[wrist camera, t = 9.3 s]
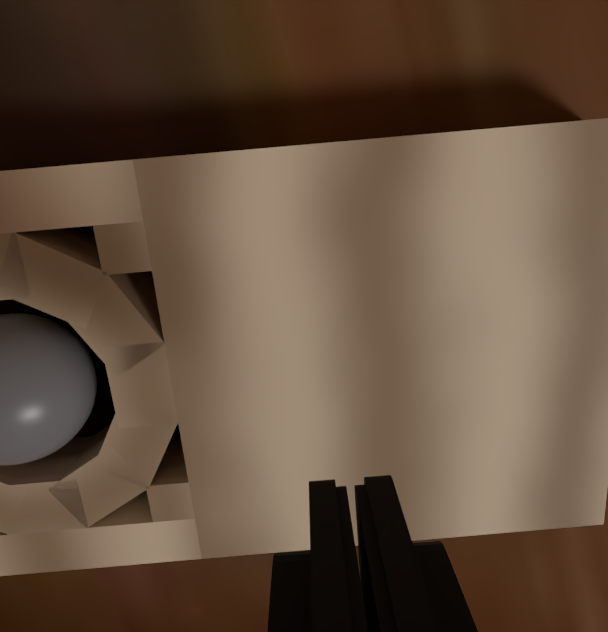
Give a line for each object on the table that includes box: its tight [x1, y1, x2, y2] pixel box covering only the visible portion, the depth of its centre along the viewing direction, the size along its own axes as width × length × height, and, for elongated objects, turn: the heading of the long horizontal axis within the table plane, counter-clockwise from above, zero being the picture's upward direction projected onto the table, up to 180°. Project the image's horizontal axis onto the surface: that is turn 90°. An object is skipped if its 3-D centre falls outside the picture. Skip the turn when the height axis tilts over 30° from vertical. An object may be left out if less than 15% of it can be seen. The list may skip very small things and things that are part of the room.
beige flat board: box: [0, 118, 608, 576], centre depth 18 cm, size 28×14×3 cm, turn 95°
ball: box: [0, 313, 97, 466], centre depth 17 cm, size 5×5×5 cm
